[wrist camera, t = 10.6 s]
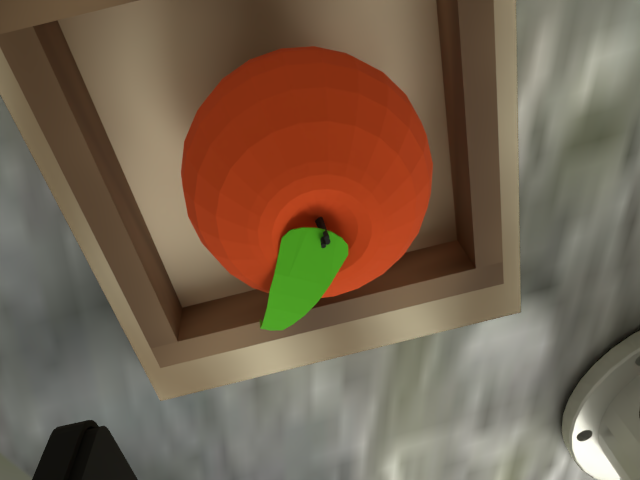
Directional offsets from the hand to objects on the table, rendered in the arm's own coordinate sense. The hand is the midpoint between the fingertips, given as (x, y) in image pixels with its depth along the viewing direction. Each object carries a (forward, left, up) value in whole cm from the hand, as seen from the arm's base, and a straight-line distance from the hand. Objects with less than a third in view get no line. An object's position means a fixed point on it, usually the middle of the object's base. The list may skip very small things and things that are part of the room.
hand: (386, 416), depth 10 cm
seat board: (+1, -1, -13) cm, 13 cm away
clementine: (+1, -1, -12) cm, 11 cm away
